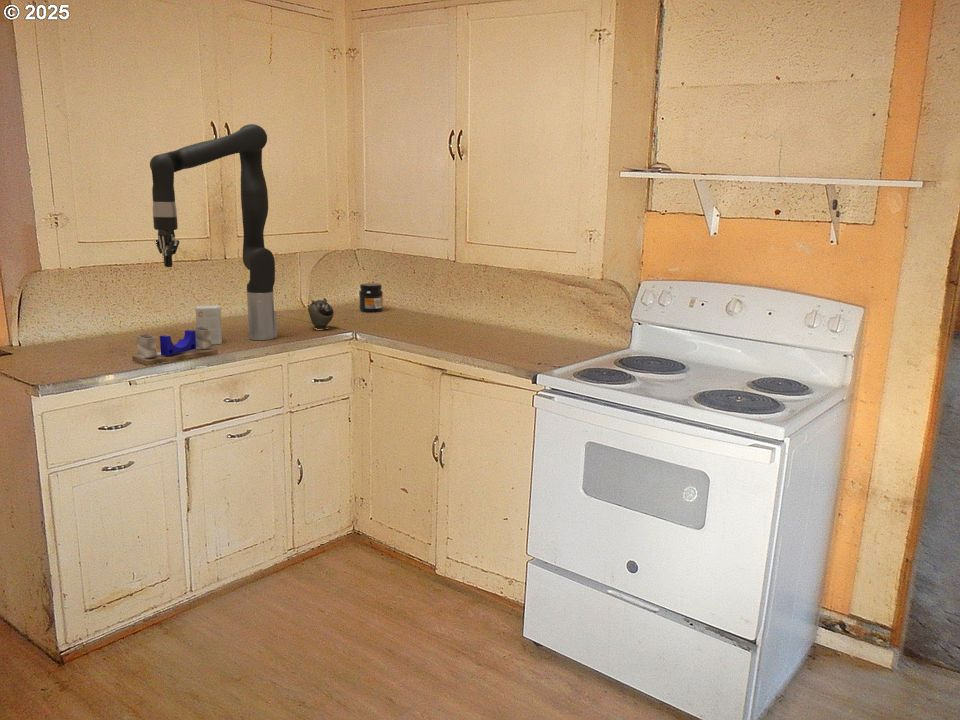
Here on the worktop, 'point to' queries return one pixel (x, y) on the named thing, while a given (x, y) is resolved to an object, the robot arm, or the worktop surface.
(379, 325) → the worktop surface
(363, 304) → the supplement container
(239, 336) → the worktop surface
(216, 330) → the small box
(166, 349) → the blue curved piece
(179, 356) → the rail board
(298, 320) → the worktop surface
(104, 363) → the worktop surface
